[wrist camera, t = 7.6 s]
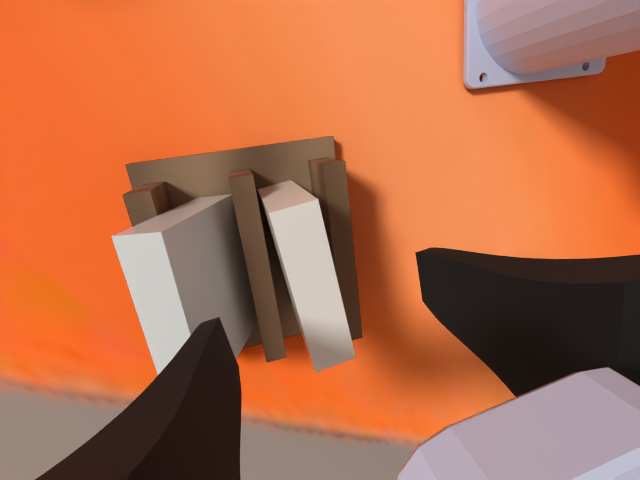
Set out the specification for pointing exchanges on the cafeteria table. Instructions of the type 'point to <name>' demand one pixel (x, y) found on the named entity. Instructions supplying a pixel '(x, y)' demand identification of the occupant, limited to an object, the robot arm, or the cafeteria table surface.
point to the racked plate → (188, 275)
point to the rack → (259, 218)
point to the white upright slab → (308, 272)
